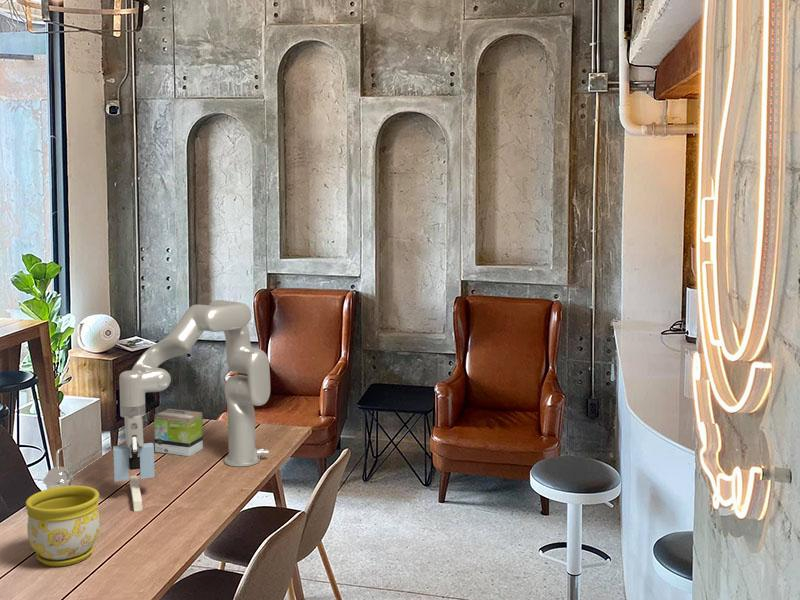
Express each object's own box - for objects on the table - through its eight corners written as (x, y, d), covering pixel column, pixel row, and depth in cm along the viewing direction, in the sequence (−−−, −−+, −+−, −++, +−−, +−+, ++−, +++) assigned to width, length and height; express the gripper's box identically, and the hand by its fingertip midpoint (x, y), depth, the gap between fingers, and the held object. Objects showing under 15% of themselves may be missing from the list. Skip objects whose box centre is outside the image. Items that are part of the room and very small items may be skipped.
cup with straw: (40, 510, 250) (37, 446, 248) (71, 503, 256) (68, 441, 254) (49, 518, 244) (46, 453, 241) (80, 511, 250) (78, 447, 247)
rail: (137, 484, 273) (137, 475, 273) (142, 510, 251) (142, 501, 250) (129, 485, 272) (129, 476, 272) (134, 511, 250) (133, 502, 250)
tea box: (154, 453, 306) (152, 414, 304) (169, 445, 316) (168, 407, 314) (189, 457, 302) (188, 417, 300) (204, 449, 311) (203, 411, 309)
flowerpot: (79, 536, 232) (76, 480, 230) (114, 554, 221) (112, 495, 218) (15, 557, 218) (12, 498, 216) (50, 578, 207) (47, 515, 205)
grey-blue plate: (153, 472, 265) (152, 442, 263) (154, 477, 261) (153, 446, 259) (114, 476, 260) (113, 446, 259) (114, 481, 256) (113, 450, 255)
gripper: (147, 416, 251) (148, 473, 254) (143, 403, 267) (144, 457, 269) (121, 418, 249) (123, 476, 251) (119, 404, 264) (120, 459, 267)
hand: (134, 465), depth 260 cm, fingers closed on grey-blue plate, 4 cm apart
